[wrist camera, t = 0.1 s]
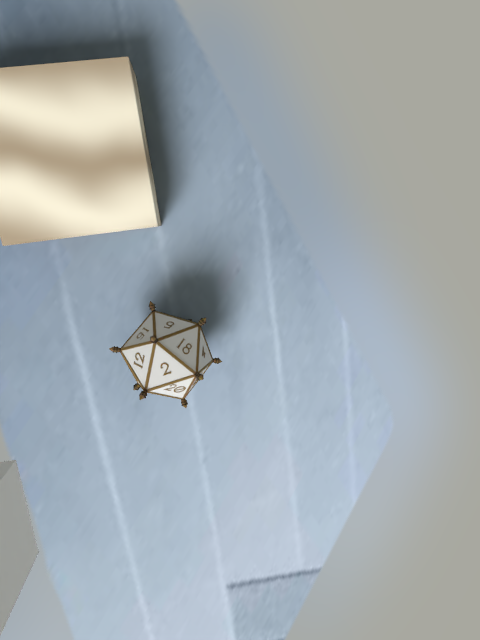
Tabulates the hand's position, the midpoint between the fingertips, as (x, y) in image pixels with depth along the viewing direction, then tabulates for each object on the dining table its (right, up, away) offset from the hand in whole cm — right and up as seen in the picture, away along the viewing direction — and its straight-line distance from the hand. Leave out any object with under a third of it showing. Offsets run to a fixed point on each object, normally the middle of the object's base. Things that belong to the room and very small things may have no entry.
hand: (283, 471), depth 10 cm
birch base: (-15, +17, +23) cm, 32 cm away
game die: (-8, +2, +28) cm, 29 cm away
